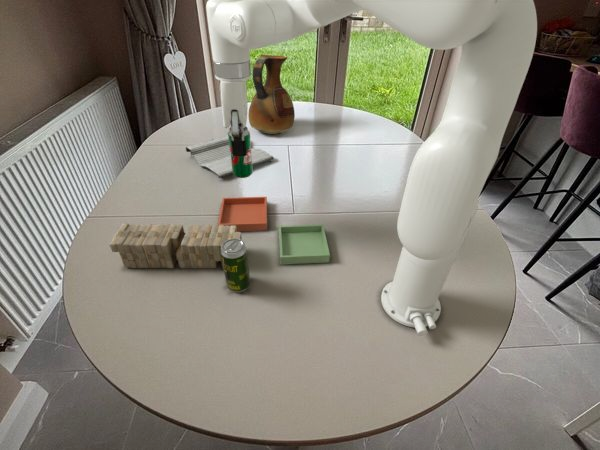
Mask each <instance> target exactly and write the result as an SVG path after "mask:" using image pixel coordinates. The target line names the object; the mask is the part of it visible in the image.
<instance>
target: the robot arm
mask: <svg viewBox="0 0 600 450" xmlns="http://www.w3.org/2000/svg"><path fill="white" fill-rule="evenodd" d="M205 10H206V19H207V20H206V21H207V26H208V33H209V42H210V49H211V56H212V57H211V58H212V63H213V64H212V65H213V72H214V79H216V80H217V81H219V85H220V86H219V87H220V88H219V89H220V102H221V103H220V104H221V112H222V124H223V128H224V129H229V128H230V127H231V137H232V139H231V143H232V151H233V156H246V155H247V149H246V139H244V128H245V127H247V123H248V110H249V107H248V90H247V88H248V87H247V80H249V79H251V78H252V67H251V66H252V64H251V50H258V49H261V48H265V47H268V46H272V45H277V44H282V43H286V42H289V41H291V40H293V39H294V40H295V39H296V38H298V37H301V36H303V35H306V34H309V33H311V32H314V31H315V30H317V29H320V28H322V27H327V26H328V25H330V24H332V23H335V22H337V21H340V20H341V19H344V18H346V17H348V16H350V15H353V14H356V13H358V12H361V11H363V10H364V11H365V12H367V13H368V14H370V15H372V16H373V17H375V18H376V19H378V20H379V21H381V22H383V23H385V24H386V25H387V26H389V27H391V28H392V29H394V30H396V31H397V32H398V33H400V34H402V35H403V36H405V37H407V38H408V39H409V40H412V41H413V42H415V43H416V44H419V45H420V46H423V47H425V48H428V49H432V50H438V51H446V50H452V49H456V48H458V47H461V54H460V57H459V62H458V64H457V67H456V70H455V72H454V75H453V78H452V81H451V85H450V89H449V93H448V97H447V101H446V104H445V107H444V110H443V114H442V116H441V119H440V122H439V124H438V125H437V126H436V128H435V130H434V131H433V132H432V133H431V134H430V135H429V136H428V137H427V138H426V139H425V140H424V142H422V144H421V145H420V146H419V148H418V150H417V151H416V153H415V154H414V157H413V159H412V162H411V165H410V168H409V171H408V175H407V179H406V182H405V183H406V184H405V188H404V192H403V194H402V195H403V196H402V199H401V204H400V208H399V212H398V217H397V222H396V229H397V230H396V231H397V235H398V239H399V241H400V243H401V245H402V248H401V252H400V255H399V258H398V262H397V265H396V269H395V271H394V272H395V273H394V275H393V280H392V281H390V282H389V283H387V284H386V285H385V286H384V287H383V288H382V290H381V291H382V292H381V296H380V301H381V305H382V307H383V310H384V311H385V312H386V314H387V315H388V316H389V317H390V318H391V319H392V320H394V321H395V322H397V323H398V324H401V325H403V326H406V327H410V328H415V331H416V333H417V335H418V337H424V336H426V335H428V333H429V332H428V329H427V327H428V328H429V330H434V329H437V325H436V322H437V321H438V319H439V317H440V315H441V311H442V306H441V305H442V304H441V302H440V299H439V297H440V295H441V293H442V290H443V288H444V285H445V283H446V281H447V278H448V276H449V274H450V272H451V269H452V267H453V265H454V263H455V261H456V259H457V256H458V253H459V251H460V249H461V246H462V244H463V242H464V240H465V237H466V235H467V233H468V231H469V228H470V227H471V225H472V222H473V220H474V218H475V217H476V213H477V211H478V209H479V208H478V207H479V200H480V199H479V197H480V195H481V193H482V191H483V188H484V186H485V184H486V181H487V179H488V178H489V176H490V173H491V171H492V169H493V168H494V165H495V164H496V161H497V159H498V156H499V153H500V149H501V144H502V141H503V138H504V135H505V132H506V130H507V127H508V125H509V122H510V119H511V117H512V114H513V112H514V110H515V108H516V104H517V101H518V99H519V95H520V93H521V90H522V88H523V84H524V82H525V80H526V78H527V77H526V76H527V74H528V71H529V68H530V66H531V62H532V59H533V56H534V52H535V48H536V41H537V36H538V17H537V16H538V15H537V9H536V5H535V1H534V0H207V1H206V5H205ZM239 125H241V126H239ZM239 129H241V132H239Z"/></svg>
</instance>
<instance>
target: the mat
mask: <svg viewBox="0 0 600 450" xmlns="http://www.w3.org/2000/svg"><path fill="white" fill-rule="evenodd" d="M185 152H186V153H190V157H191V158H192V157H193V158H194V160H195V161H196V163H197V164H198V165H199V166H200V167H201V168H207V169H208V170H210V171H211V172H212V173H214V174H215V175H217V176H218V178H219V179H220V178H221V179H223V177H227V176H229V175H233V171H232V163H231V155H230V147H229V139H228V135H226V136H221V137H217V138H213V139H211V140H207V141H202V142H200V143H196V144H193V145H189V146H186V147H185ZM251 155H252V167H256V166H258V165H261V164H264V163H268V162H271V161H272V160H274V159H275V158H274V156H273V155H271V154H270V153H268V152H267V151H264V150H263V149H261V148H253V147H252V146H251Z"/></svg>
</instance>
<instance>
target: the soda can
mask: <svg viewBox="0 0 600 450" xmlns="http://www.w3.org/2000/svg"><path fill="white" fill-rule="evenodd" d="M239 126H241V125H239ZM239 132H241V129H239ZM227 136H228V139H229V147H230V155H231V163H232V171H233V173H232V175H233V176H234V177H236V178H238V179H246V178H250V176H252V175H253V173H254V168H253V167H254V166H253V167H252V155H251V147H252V145H251V144H252V143H251V133H250V131H249V128H248V127H247V126H246V127H245V128H244V139H246V149H247V155H246V156H233V151H232V143H231V139H232V137H231V126H229V128H228V132H227Z"/></svg>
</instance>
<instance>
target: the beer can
mask: <svg viewBox="0 0 600 450" xmlns="http://www.w3.org/2000/svg"><path fill="white" fill-rule="evenodd" d="M221 257H222V262H223V268H222V269H223V273H224V280H225V284H226V288H227V289H228V290H229V291H231V292H233V293H242V292H244V291H246V290H247V289H248V288H249V286H250V284H251V278H250V277H251V276H250V269H249V260H248V259H249V258H248V250H247V246H246V243H245V241H243V240H240V239H229V240H226V241H225V242H224V243H223V244H222V245H221ZM222 262H221V263H222Z"/></svg>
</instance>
